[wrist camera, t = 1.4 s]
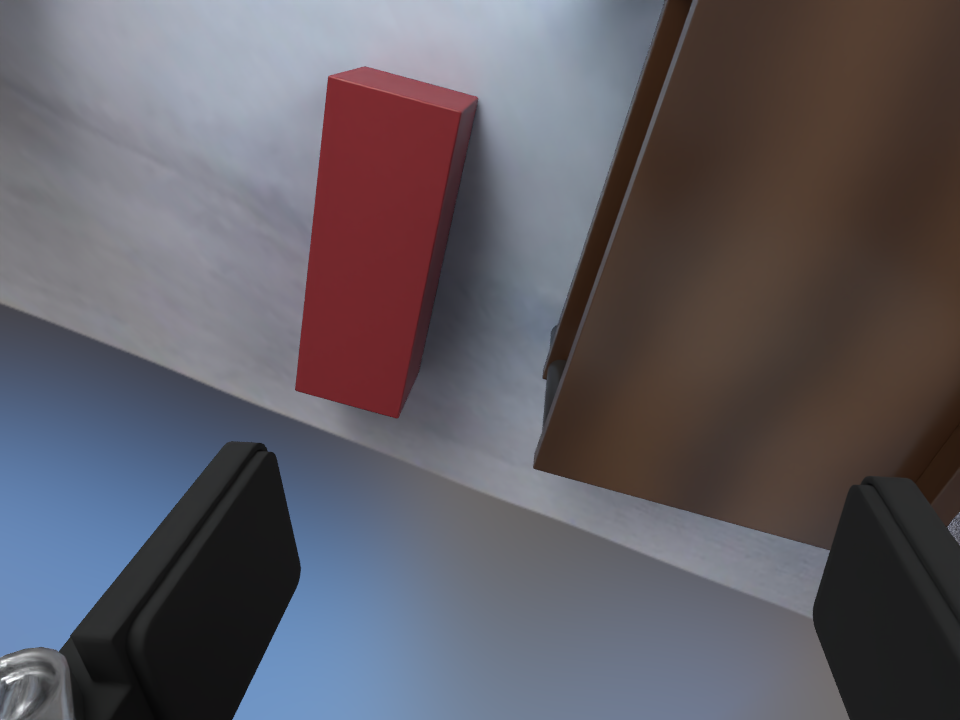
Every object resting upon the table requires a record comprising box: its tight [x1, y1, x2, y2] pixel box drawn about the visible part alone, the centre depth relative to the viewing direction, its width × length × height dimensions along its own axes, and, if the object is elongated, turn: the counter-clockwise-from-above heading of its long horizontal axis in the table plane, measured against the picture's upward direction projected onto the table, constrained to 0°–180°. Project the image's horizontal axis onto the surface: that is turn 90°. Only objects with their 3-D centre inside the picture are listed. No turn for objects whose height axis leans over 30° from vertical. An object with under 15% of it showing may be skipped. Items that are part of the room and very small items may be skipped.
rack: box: [533, 0, 960, 550], centre depth 25 cm, size 14×18×12 cm
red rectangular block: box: [295, 67, 478, 418], centre depth 31 cm, size 5×15×5 cm, turn 166°
